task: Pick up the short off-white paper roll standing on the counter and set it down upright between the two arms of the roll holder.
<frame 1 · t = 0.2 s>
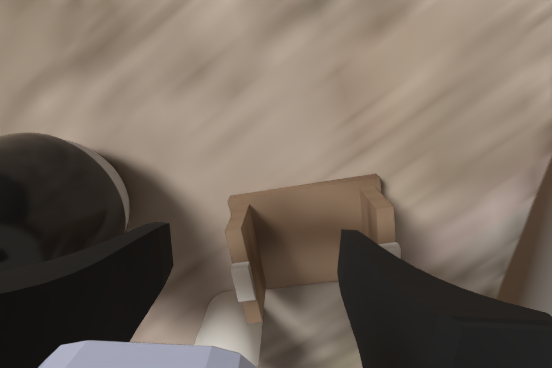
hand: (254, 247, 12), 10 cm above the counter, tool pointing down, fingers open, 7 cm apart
holder: (308, 232, 23), on the counter
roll: (235, 314, 25), on the counter
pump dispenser: (89, 192, 22), on the counter
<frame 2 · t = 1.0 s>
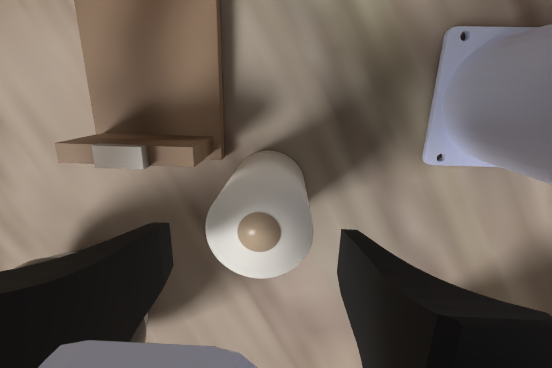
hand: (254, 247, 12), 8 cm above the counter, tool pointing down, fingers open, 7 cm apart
holder: (158, 68, 18), on the counter
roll: (268, 186, 20), on the counter
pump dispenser: (106, 285, 23), on the counter
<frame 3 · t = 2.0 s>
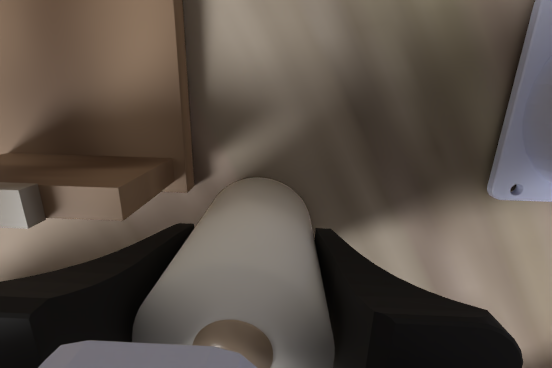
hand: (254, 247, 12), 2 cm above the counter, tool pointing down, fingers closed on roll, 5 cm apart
holder: (89, 54, 12), on the counter
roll: (258, 227, 14), on the counter, touching gripper
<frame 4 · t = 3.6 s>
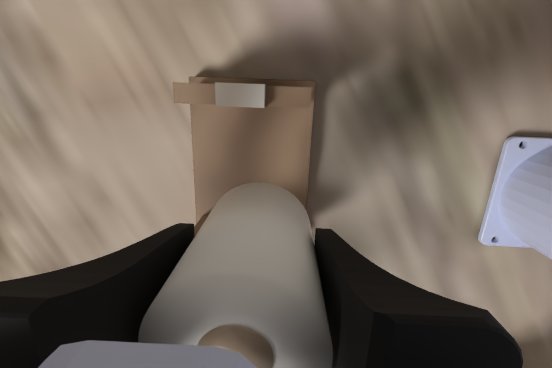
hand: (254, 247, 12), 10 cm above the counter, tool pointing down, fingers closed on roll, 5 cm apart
holder: (252, 160, 21), on the counter
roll: (259, 231, 14), point 7 cm above the counter, touching gripper
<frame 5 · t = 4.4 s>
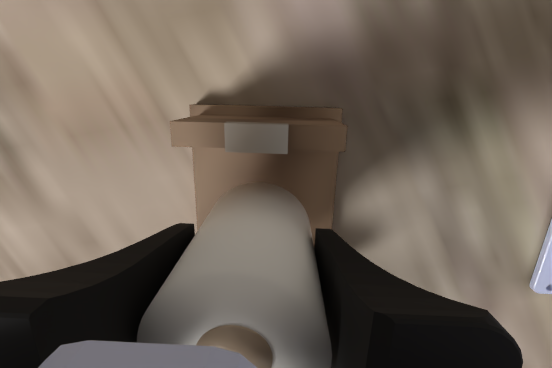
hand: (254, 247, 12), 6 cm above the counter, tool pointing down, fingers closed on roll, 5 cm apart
holder: (265, 199, 17), on the counter
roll: (259, 230, 14), point 4 cm above the counter, touching gripper
when the fingers open (4 cm above the counter, at t = 5.2 s): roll drops 1 cm, resting on holder.
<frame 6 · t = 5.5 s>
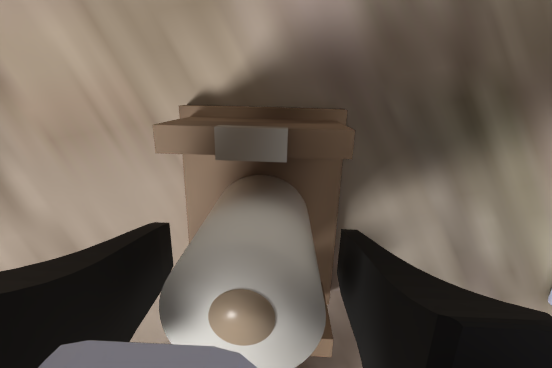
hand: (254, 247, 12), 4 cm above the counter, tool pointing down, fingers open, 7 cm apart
holder: (263, 207, 16), on the counter
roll: (261, 219, 15), point 1 cm above the counter, touching holder
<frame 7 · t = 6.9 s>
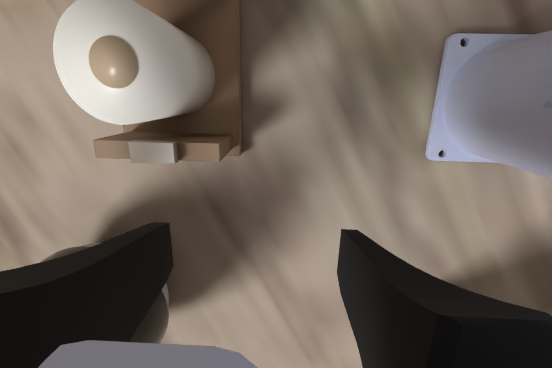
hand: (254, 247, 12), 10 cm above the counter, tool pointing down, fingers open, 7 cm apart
holder: (181, 71, 19), on the counter
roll: (176, 74, 18), point 1 cm above the counter, touching holder
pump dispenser: (128, 275, 25), on the counter
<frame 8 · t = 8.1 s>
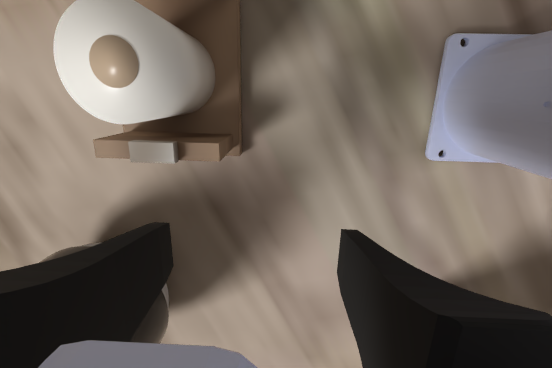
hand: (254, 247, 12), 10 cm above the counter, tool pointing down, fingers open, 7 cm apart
holder: (181, 71, 19), on the counter
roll: (176, 74, 18), point 1 cm above the counter, touching holder
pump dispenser: (128, 275, 25), on the counter
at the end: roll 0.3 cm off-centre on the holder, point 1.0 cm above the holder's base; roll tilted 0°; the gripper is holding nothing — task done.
